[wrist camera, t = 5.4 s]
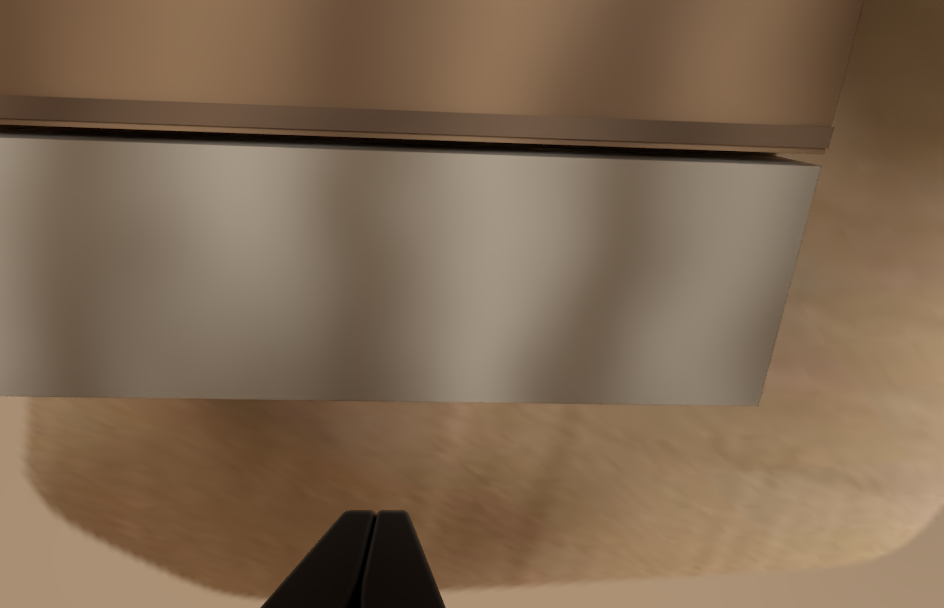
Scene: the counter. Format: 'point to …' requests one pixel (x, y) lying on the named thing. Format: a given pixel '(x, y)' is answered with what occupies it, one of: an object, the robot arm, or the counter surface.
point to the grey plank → (390, 270)
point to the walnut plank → (437, 69)
